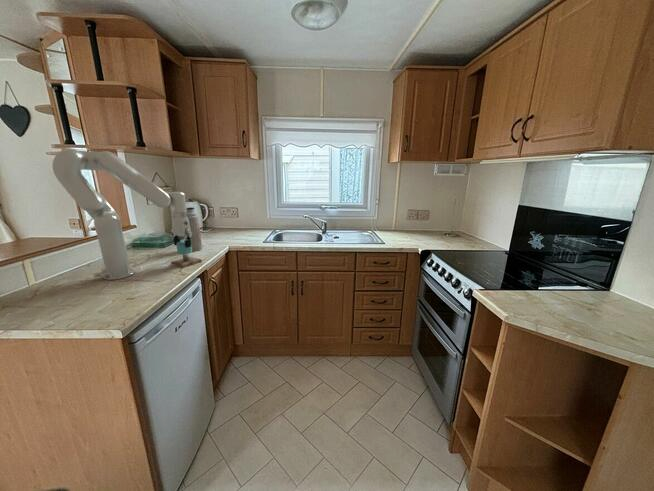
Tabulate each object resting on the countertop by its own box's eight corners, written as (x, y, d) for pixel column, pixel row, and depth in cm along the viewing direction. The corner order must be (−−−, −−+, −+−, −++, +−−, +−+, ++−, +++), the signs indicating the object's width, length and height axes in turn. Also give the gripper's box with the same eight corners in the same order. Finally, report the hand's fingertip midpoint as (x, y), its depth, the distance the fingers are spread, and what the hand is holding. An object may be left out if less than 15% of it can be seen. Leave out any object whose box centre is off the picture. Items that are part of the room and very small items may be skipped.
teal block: (183, 254, 144) (181, 244, 143) (175, 253, 148) (173, 242, 146) (194, 251, 150) (193, 241, 149) (186, 250, 153) (185, 240, 152)
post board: (183, 267, 143) (183, 264, 143) (171, 264, 148) (171, 261, 148) (201, 261, 153) (201, 259, 152) (189, 259, 158) (189, 256, 157)
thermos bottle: (204, 248, 180) (199, 207, 172) (197, 251, 172) (191, 208, 165) (194, 247, 181) (188, 206, 174) (186, 251, 174) (180, 208, 166)
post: (185, 261, 148) (182, 244, 145) (182, 260, 149) (179, 243, 147) (190, 260, 151) (188, 243, 148) (187, 259, 152) (184, 242, 149)
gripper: (195, 215, 142) (198, 246, 147) (176, 213, 150) (179, 242, 155) (182, 217, 136) (186, 249, 140) (162, 214, 144) (166, 245, 148)
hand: (182, 245), depth 147 cm, fingers open, 9 cm apart
